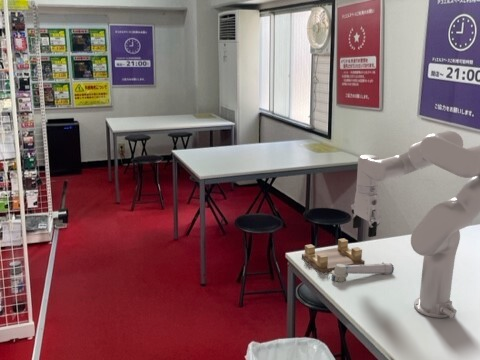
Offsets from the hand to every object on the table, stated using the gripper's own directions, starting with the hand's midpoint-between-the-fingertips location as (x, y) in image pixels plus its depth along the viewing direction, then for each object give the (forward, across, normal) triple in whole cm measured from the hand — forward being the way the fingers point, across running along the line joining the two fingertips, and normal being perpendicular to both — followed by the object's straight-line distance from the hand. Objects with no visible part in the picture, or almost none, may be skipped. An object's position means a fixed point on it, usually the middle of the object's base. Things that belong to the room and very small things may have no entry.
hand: (364, 231), depth 192 cm
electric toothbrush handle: (+19, 0, 0) cm, 19 cm away
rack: (+18, +16, +3) cm, 24 cm away
